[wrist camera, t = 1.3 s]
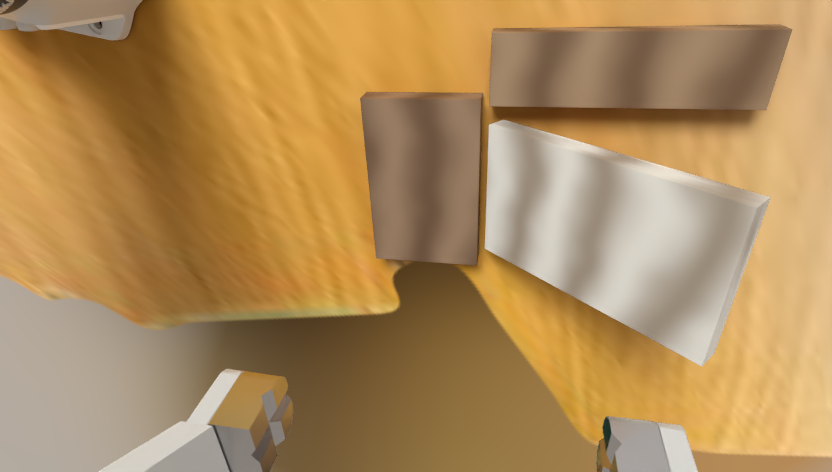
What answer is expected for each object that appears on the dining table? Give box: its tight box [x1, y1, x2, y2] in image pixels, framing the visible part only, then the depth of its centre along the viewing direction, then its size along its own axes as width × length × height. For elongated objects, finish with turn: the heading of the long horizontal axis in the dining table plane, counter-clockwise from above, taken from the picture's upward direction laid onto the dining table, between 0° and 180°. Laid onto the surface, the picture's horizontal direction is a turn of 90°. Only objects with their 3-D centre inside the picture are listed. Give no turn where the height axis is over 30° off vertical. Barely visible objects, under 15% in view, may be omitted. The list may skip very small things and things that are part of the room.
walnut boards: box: [360, 25, 792, 265], centre depth 43 cm, size 31×21×2 cm
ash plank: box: [485, 120, 771, 366], centre depth 38 cm, size 20×12×2 cm
